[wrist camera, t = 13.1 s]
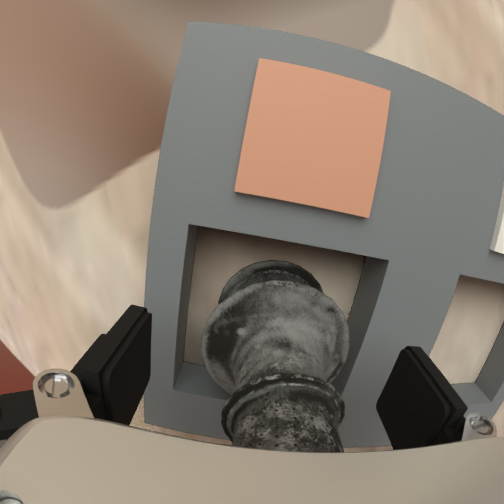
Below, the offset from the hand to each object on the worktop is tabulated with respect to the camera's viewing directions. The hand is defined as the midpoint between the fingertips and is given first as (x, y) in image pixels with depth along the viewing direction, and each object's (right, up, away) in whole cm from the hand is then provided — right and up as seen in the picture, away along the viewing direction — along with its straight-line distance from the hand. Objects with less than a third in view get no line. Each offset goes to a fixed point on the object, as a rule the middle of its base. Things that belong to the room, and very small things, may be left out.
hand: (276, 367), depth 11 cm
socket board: (+6, +3, +4) cm, 8 cm away
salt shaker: (0, +1, +5) cm, 5 cm away
